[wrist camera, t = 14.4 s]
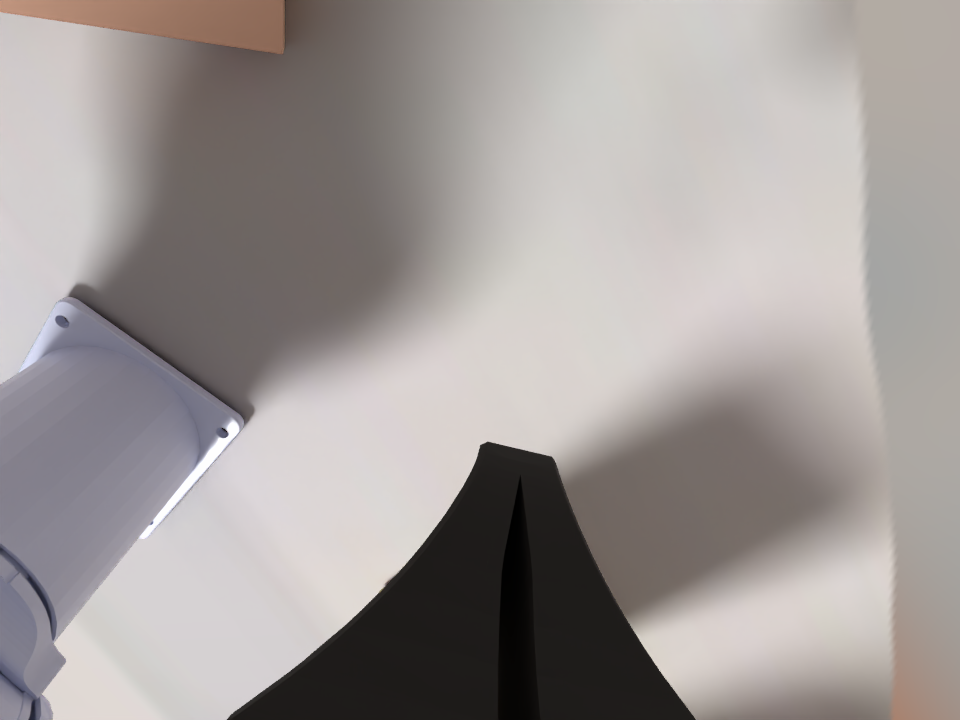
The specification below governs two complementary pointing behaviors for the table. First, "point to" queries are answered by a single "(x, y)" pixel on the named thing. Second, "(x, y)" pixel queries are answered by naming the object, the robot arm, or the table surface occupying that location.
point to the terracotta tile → (172, 18)
